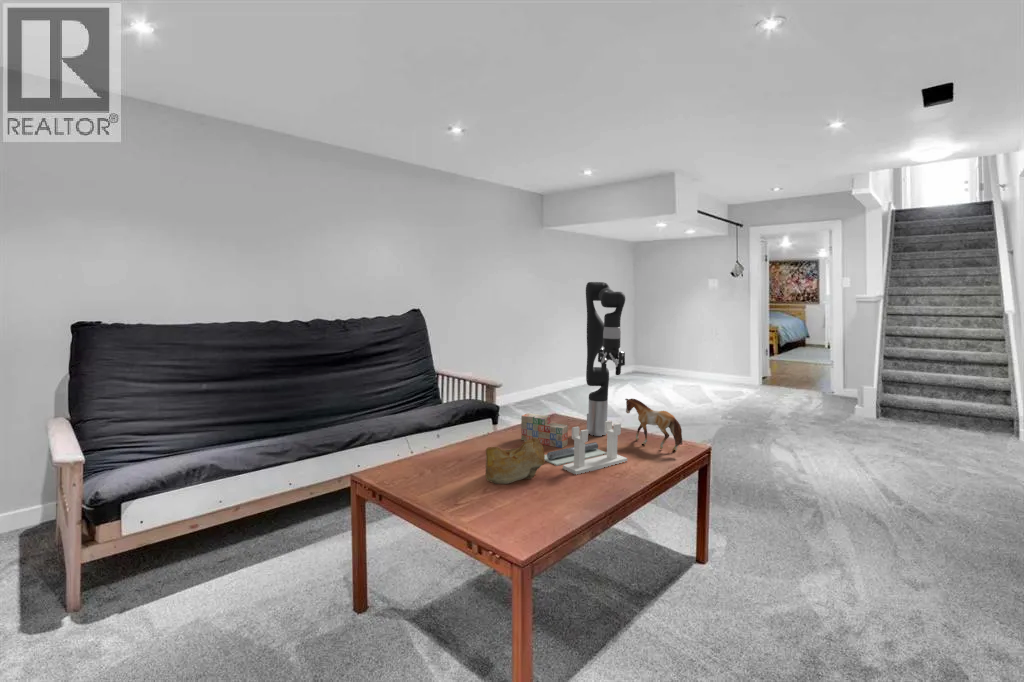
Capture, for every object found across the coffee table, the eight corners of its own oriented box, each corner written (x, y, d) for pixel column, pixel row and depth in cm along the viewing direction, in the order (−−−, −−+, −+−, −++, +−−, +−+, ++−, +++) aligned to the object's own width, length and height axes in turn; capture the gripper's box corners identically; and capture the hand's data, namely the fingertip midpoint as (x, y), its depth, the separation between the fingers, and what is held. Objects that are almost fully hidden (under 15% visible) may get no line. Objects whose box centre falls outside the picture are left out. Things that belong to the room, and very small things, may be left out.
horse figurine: (622, 440, 245) (623, 397, 242) (632, 437, 249) (633, 395, 247) (680, 457, 221) (682, 410, 218) (690, 454, 225) (692, 407, 223)
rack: (562, 468, 206) (563, 428, 204) (613, 456, 221) (614, 418, 219) (576, 474, 199) (577, 433, 197) (627, 461, 215) (628, 422, 213)
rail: (551, 461, 213) (552, 454, 212) (546, 457, 216) (547, 450, 215) (597, 450, 228) (598, 444, 227) (592, 447, 230) (593, 441, 229)
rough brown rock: (532, 468, 208) (530, 431, 208) (549, 479, 193) (547, 439, 192) (476, 477, 200) (474, 438, 200) (489, 489, 185) (487, 447, 184)
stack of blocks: (567, 444, 237) (568, 418, 236) (562, 448, 232) (562, 421, 231) (527, 437, 248) (527, 412, 247) (520, 440, 243) (521, 415, 242)
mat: (538, 457, 219) (538, 456, 219) (587, 446, 234) (587, 445, 234) (556, 465, 209) (556, 464, 209) (606, 453, 224) (606, 452, 224)
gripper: (629, 338, 223) (628, 375, 225) (606, 335, 235) (605, 370, 236) (617, 339, 219) (616, 376, 220) (594, 336, 230) (593, 372, 232)
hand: (610, 373), depth 228 cm, fingers open, 8 cm apart
